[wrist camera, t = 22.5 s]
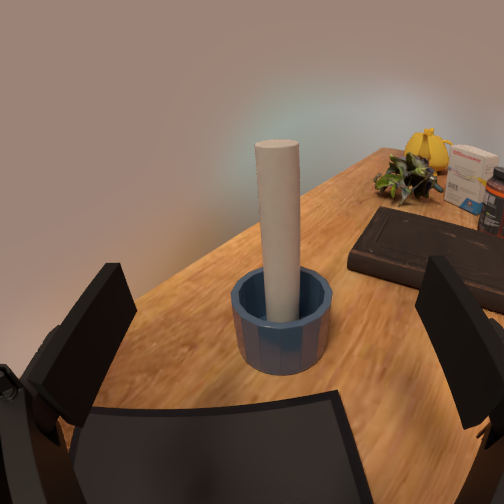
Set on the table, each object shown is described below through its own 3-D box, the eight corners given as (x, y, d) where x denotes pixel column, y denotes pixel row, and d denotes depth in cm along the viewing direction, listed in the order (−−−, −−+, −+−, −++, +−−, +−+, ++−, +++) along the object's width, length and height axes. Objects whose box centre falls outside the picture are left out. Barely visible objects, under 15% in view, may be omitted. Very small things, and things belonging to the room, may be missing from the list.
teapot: (451, 186, 58) (457, 139, 52) (396, 172, 66) (398, 128, 60) (454, 169, 70) (457, 132, 65) (409, 159, 79) (411, 123, 73)
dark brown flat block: (378, 219, 44) (379, 205, 43) (508, 254, 32) (512, 241, 31) (345, 271, 33) (347, 253, 32) (522, 322, 21) (531, 306, 20)
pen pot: (242, 381, 22) (233, 334, 19) (236, 317, 28) (229, 269, 25) (336, 366, 22) (345, 318, 19) (313, 306, 29) (316, 259, 26)
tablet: (62, 560, 7) (54, 558, 6) (85, 410, 19) (79, 404, 18) (385, 562, 8) (390, 562, 7) (336, 395, 20) (338, 388, 19)
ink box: (491, 209, 46) (500, 155, 40) (475, 216, 43) (485, 156, 38) (461, 194, 53) (468, 143, 47) (442, 199, 50) (449, 143, 45)
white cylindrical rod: (270, 350, 24) (257, 148, 16) (266, 328, 26) (252, 140, 18) (301, 345, 24) (303, 145, 16) (294, 324, 26) (293, 138, 18)
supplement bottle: (505, 233, 37) (519, 172, 32) (505, 246, 34) (521, 179, 28) (478, 222, 41) (489, 161, 36) (475, 234, 38) (488, 167, 32)
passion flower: (412, 222, 54) (452, 184, 46) (395, 231, 47) (443, 186, 39) (378, 180, 58) (414, 141, 49) (356, 182, 51) (397, 135, 42)
